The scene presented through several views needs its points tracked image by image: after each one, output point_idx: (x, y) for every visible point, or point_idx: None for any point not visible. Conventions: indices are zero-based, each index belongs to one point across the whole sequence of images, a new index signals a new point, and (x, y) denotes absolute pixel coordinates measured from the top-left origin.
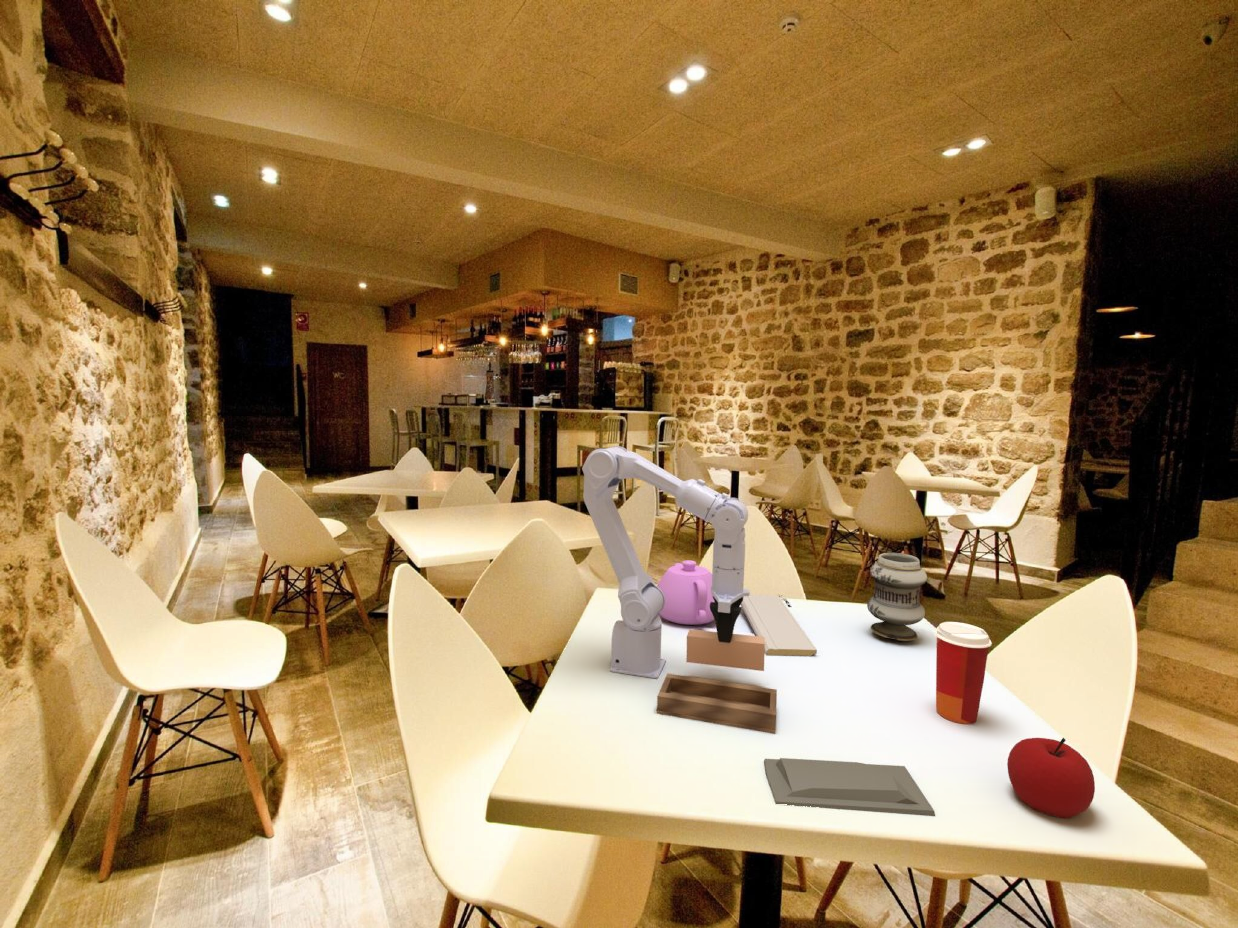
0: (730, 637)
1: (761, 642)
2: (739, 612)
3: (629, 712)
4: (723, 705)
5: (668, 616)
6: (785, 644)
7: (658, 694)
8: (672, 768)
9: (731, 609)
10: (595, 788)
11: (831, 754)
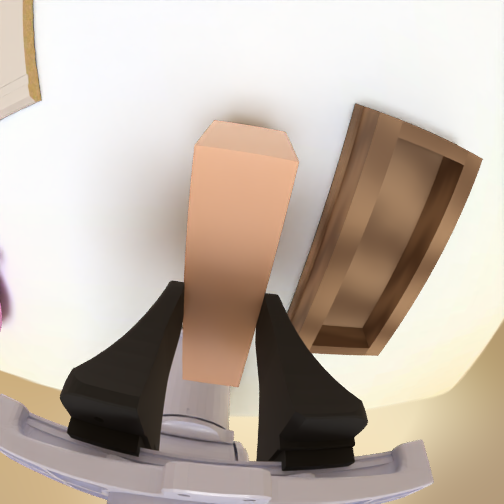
0: (285, 311)
1: (277, 173)
2: (364, 408)
3: (352, 356)
4: (434, 259)
5: (1, 317)
6: (3, 57)
7: (373, 354)
8: (475, 299)
9: (344, 438)
10: (470, 351)
11: (497, 65)
